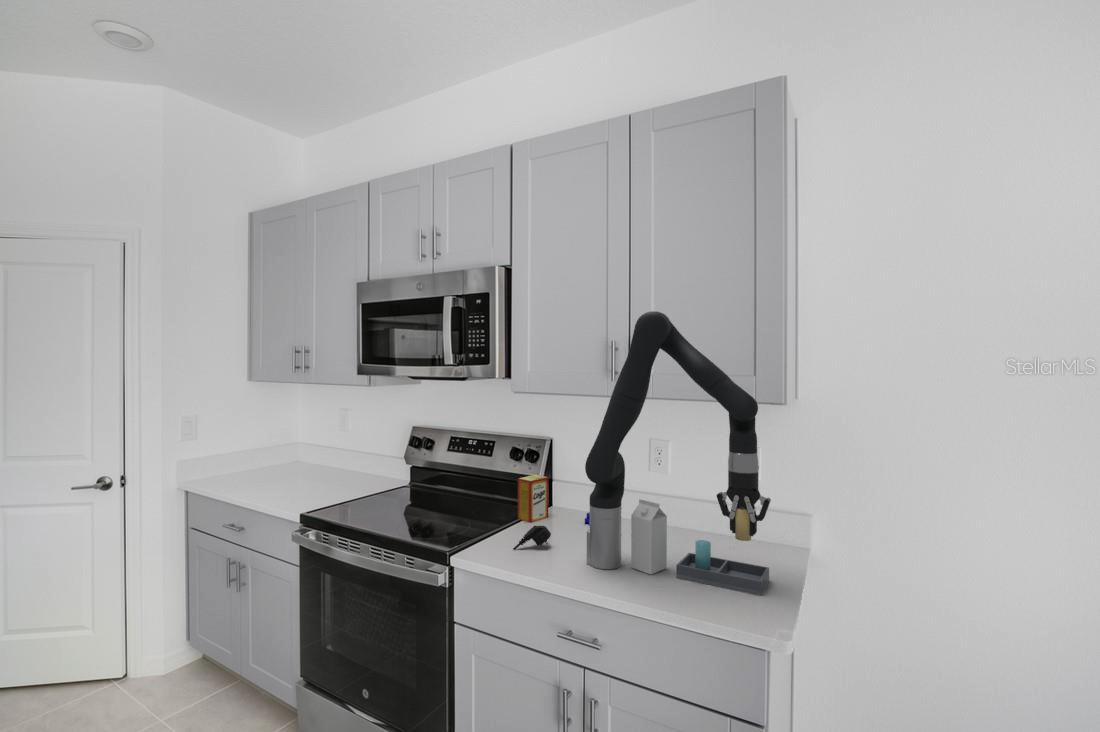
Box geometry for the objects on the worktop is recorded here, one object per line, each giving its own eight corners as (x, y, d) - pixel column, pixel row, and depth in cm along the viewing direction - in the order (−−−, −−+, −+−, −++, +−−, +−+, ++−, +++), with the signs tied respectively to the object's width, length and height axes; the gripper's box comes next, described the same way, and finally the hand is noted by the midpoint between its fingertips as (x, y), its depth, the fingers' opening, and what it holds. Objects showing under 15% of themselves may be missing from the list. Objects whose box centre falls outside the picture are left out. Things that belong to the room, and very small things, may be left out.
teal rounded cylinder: (693, 572, 149) (693, 543, 149) (697, 567, 153) (697, 539, 153) (708, 575, 147) (708, 545, 147) (712, 570, 151) (712, 541, 151)
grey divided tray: (676, 577, 148) (676, 564, 148) (688, 564, 158) (688, 552, 158) (761, 595, 137) (761, 581, 137) (769, 580, 146) (769, 567, 146)
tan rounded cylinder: (733, 539, 144) (733, 508, 144) (737, 535, 147) (737, 505, 147) (749, 541, 141) (749, 510, 141) (752, 537, 145) (752, 507, 145)
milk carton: (646, 562, 160) (647, 497, 160) (666, 569, 154) (667, 501, 154) (631, 568, 155) (631, 501, 155) (651, 575, 150) (651, 506, 150)
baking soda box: (530, 524, 197) (530, 480, 197) (517, 520, 202) (517, 477, 201) (548, 519, 204) (548, 476, 204) (535, 515, 208) (536, 473, 208)
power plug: (510, 544, 172) (539, 518, 175) (524, 562, 173) (553, 536, 176) (513, 550, 167) (543, 523, 169) (528, 568, 168) (558, 541, 170)
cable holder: (584, 525, 196) (584, 514, 196) (588, 523, 199) (589, 512, 199) (604, 529, 192) (604, 517, 192) (609, 526, 195) (609, 515, 195)
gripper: (712, 468, 145) (712, 533, 145) (769, 474, 137) (769, 542, 137) (719, 464, 151) (719, 526, 151) (774, 469, 144) (774, 534, 144)
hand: (743, 533), depth 144 cm, fingers closed on tan rounded cylinder, 4 cm apart
